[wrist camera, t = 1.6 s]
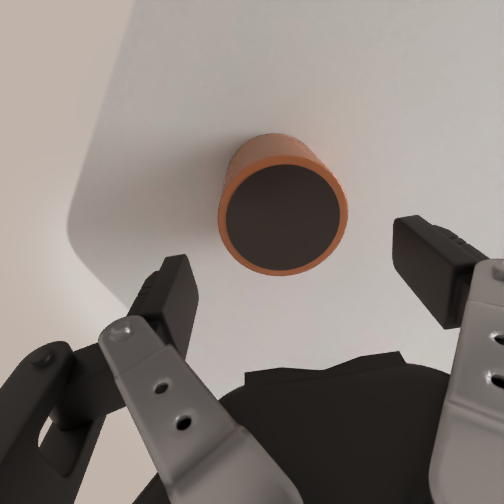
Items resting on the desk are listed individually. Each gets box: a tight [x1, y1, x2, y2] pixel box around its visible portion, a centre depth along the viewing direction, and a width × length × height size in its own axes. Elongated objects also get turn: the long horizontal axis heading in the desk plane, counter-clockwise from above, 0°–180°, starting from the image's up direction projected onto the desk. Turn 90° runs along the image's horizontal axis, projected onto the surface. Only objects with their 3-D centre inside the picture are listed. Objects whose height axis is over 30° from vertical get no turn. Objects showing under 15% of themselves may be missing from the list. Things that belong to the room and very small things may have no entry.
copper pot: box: [218, 134, 348, 276], centre depth 18 cm, size 6×6×7 cm
